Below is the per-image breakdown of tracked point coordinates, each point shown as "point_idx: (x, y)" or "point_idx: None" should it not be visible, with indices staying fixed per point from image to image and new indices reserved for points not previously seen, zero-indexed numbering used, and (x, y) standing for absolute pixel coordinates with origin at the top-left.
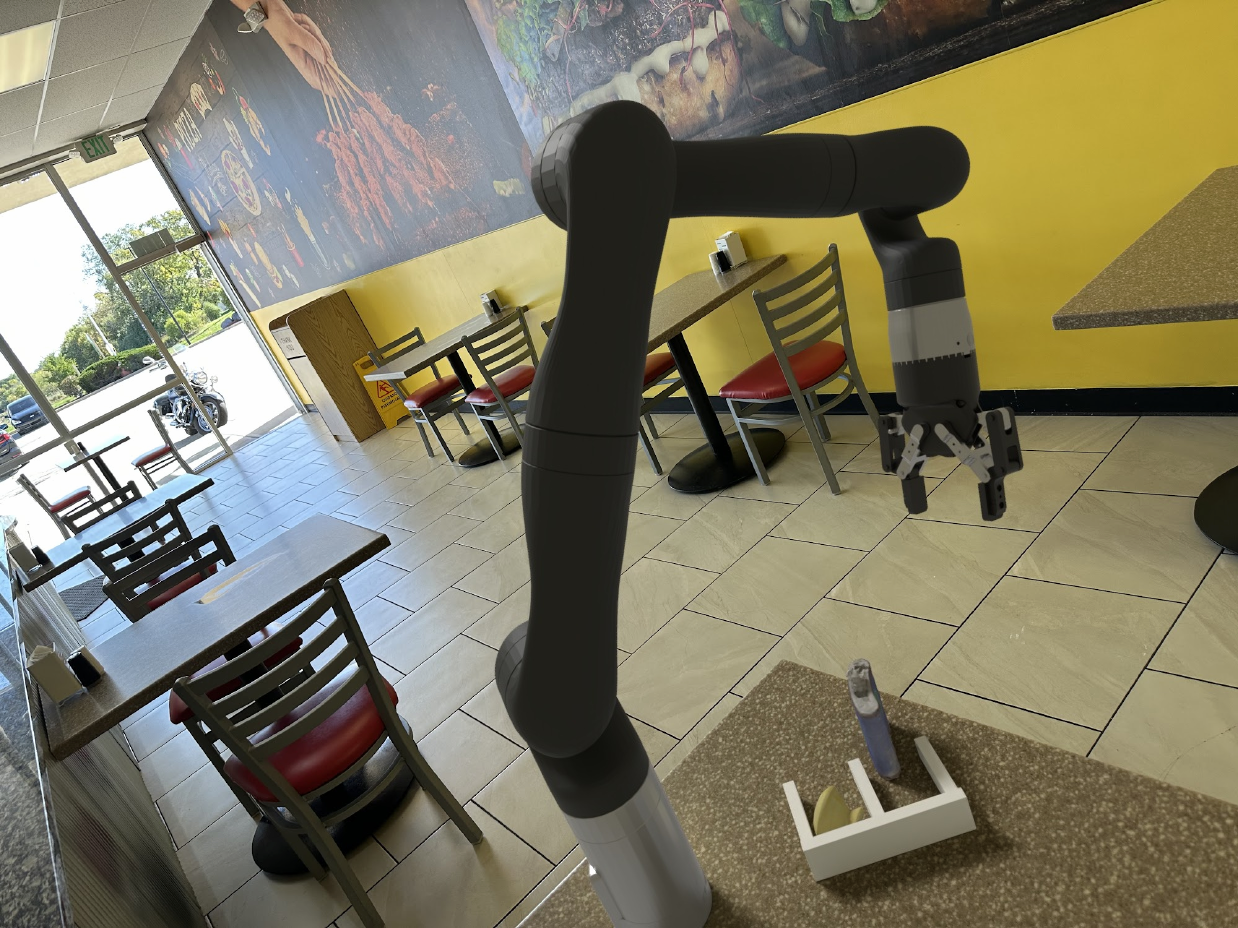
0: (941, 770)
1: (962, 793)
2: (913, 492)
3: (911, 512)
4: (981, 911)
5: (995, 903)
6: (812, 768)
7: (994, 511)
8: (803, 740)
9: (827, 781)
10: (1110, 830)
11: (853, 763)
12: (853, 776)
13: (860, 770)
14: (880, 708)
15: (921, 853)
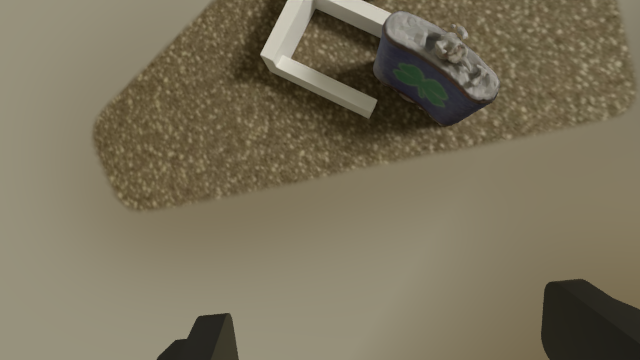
0: (320, 82)
1: (266, 55)
2: (625, 352)
3: (566, 281)
4: (214, 7)
5: (211, 21)
6: (461, 17)
7: (173, 351)
8: (507, 40)
9: (432, 15)
10: (183, 145)
11: None
12: None
13: None
14: (388, 41)
15: None
